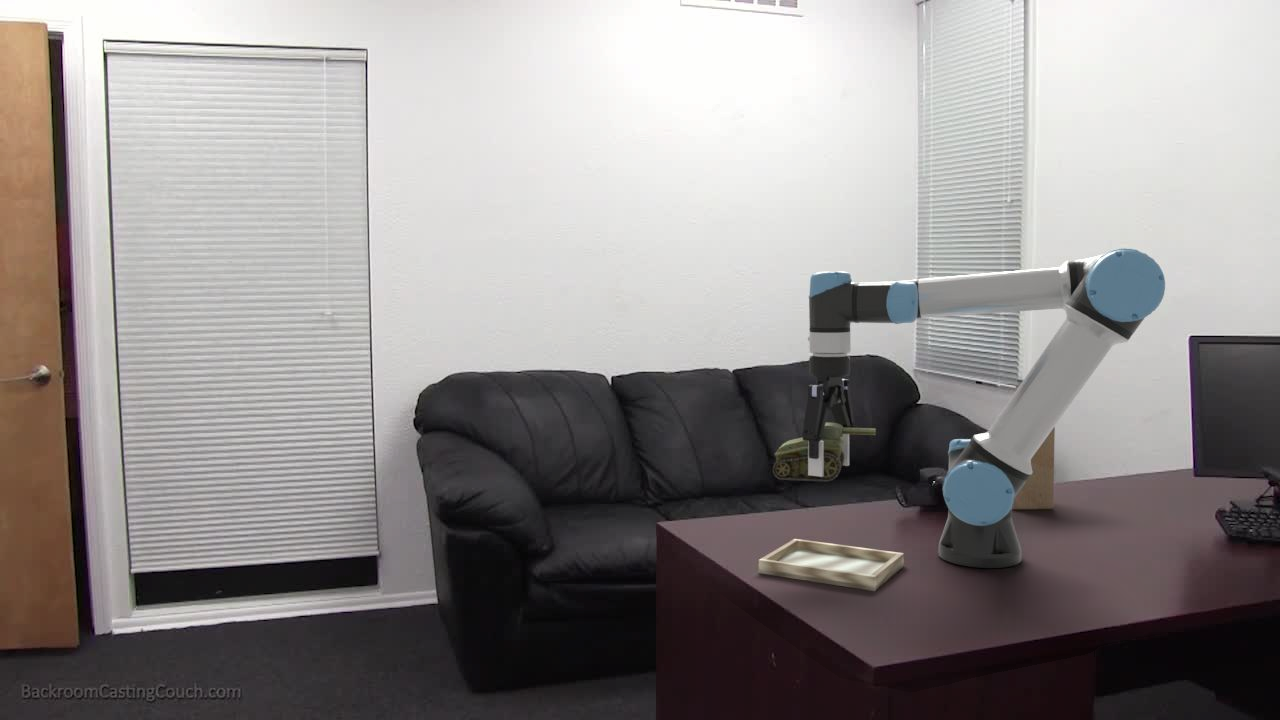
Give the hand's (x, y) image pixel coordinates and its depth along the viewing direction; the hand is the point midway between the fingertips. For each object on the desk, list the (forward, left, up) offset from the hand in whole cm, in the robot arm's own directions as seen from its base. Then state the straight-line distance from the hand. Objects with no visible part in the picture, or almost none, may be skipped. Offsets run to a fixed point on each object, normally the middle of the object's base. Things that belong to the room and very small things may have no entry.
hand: (829, 470), depth 186 cm
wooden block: (-23, -68, -18) cm, 74 cm away
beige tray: (-2, +3, -18) cm, 18 cm away
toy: (+1, 0, -1) cm, 2 cm away
